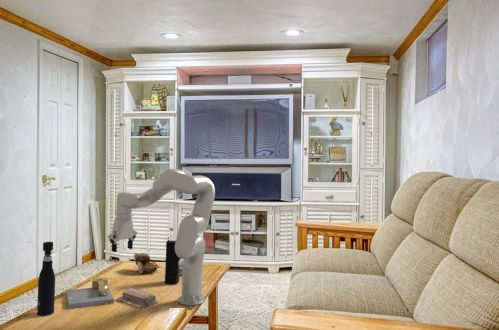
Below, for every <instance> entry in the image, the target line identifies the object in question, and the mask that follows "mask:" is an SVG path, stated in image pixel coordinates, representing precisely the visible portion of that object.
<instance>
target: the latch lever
mask: <svg viewBox="0 0 499 330" xmlns="http://www.w3.org/2000/svg"><path fill="white" fill-rule="evenodd" d="M108 281H109V280H108V278H107V277H106V278H98V279H92V280H91V288H98V295H99V296H105V295H107V290H108V288H109V286H108Z"/></svg>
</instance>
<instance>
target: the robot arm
mask: <svg viewBox="0 0 499 330" xmlns="http://www.w3.org/2000/svg"><path fill="white" fill-rule="evenodd" d="M172 191H176V192H180V193H183V194H186V195H197V197H196V199H195V201H194V205H193V209H192V211H191V212H192V213H191V214H189V215H186V216H184V217H183V218H182V219H181V221H180V224H179V226H178V229H177V231H178V232H177V234H176V239H175V241H176V243H175V252H176V255H177V256H178V257H179V258H181V259H182V261H183V274H181V275H182V281H181V296H179V297H178V299H177V302H178V303H179V304H181V305H185V306H198V305H202V304H203V303H205V301H206V299H205V297H204V296H202V295H203V274H204V273H203V272H204V271H203V268H204V259H205V253H206V252H205V251H206V241H205V239H204V237H202V236H201V235H200V234H202V233H204V232H206V230H207V229H208V226H209V223H210V217H211V214H212V209H213V205H214V202H215V197H216V189H215V185H214V183H213V181H212V180H211V179H210V178H209V177H208V176H205V175H199V174H198V175H188V174H186V172H185V171H184V170H182V169H180V168H168V169H167V168H166V169H165V170H164V171H162V173H161V175H160V177H159V178H158V179H155V180H154V181H153V183H152V187H151V188H150V189H148V190H146V191H144V192H138V193H137V192H136V193H135V192H134V193H131V192H126V191H125V192H123V191H121V192H118V193H117V196H116V207H115V208H116V210H115V211H116V213H115V217H116V218H115V219H114V220H113V224H112V228H111V229H112V230H111V232H110V234H108V235H107V238H108V241H109V243H110V244H111V252H113V253H117V251H118V244H117V243H118V241H120V240H121V241H122V240H127V249H129V250H133V245H134V244H133V243H134V241H135V238H136V237H137V235H138V231H136V230H134V223H133V219H132V217H133V216H134V214H133V213H132V212H133V211H132V210H134V209H135V210H136V209H141V208H146V207H149V206H151V205H153V204H155V203H156V202H159V201H160V200H162V198H163V197H164V196H165V195H167V194H170V193H171V192H172ZM181 259H180V260H181Z"/></svg>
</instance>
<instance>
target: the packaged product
mask: <svg viewBox="0 0 499 330" xmlns="http://www.w3.org/2000/svg"><path fill="white" fill-rule="evenodd" d="M121 295H122V296H119V297H117V300H118V299H119V300H118V301H120V300H122V301H121V302H123V301H125V302H124V303H126V302H129V303H131V304H134V305H137V306H139V307H138V308H140V307H142V308H143V307H146V308H148V307H147V306H149V307H151V306H154V305H157V304H159V300H157V299H156V298H157V297H156V295H155V294H153V293H150V292H146V291H143V290H140V289H137V288H134V287H129V288H128V289H126V290H124V291H123V292H122V294H121ZM131 304H130V305H131ZM153 304H154V305H153ZM134 305H133V306H134ZM137 306H136V307H137ZM142 308H141V309H142ZM143 309H144V308H143Z"/></svg>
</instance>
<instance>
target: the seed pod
mask: <svg viewBox="0 0 499 330" xmlns="http://www.w3.org/2000/svg"><path fill="white" fill-rule="evenodd" d="M133 258H134V261H135V262H134V263H135V265H136V266H137V267H138V273H139V275H140V274H143V273H144V272H146V273H148V274H152V273H153V274H154V273H155V272H156V271H158V269H163V270H165V267H162V266H161V265H158V264H157V263H156V262H155V261H153V259H151V257H150V255H149V254H147V253H144V252H142V253H134V255H133Z"/></svg>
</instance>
